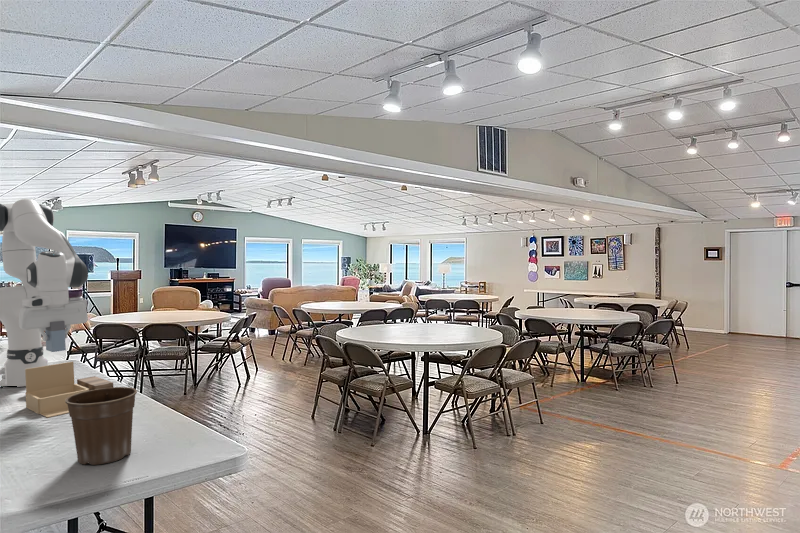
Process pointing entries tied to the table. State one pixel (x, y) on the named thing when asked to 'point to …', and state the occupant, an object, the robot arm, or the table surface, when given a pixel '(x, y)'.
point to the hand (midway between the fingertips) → (55, 339)
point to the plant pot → (102, 423)
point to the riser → (94, 383)
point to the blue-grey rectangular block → (56, 336)
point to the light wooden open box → (51, 388)
